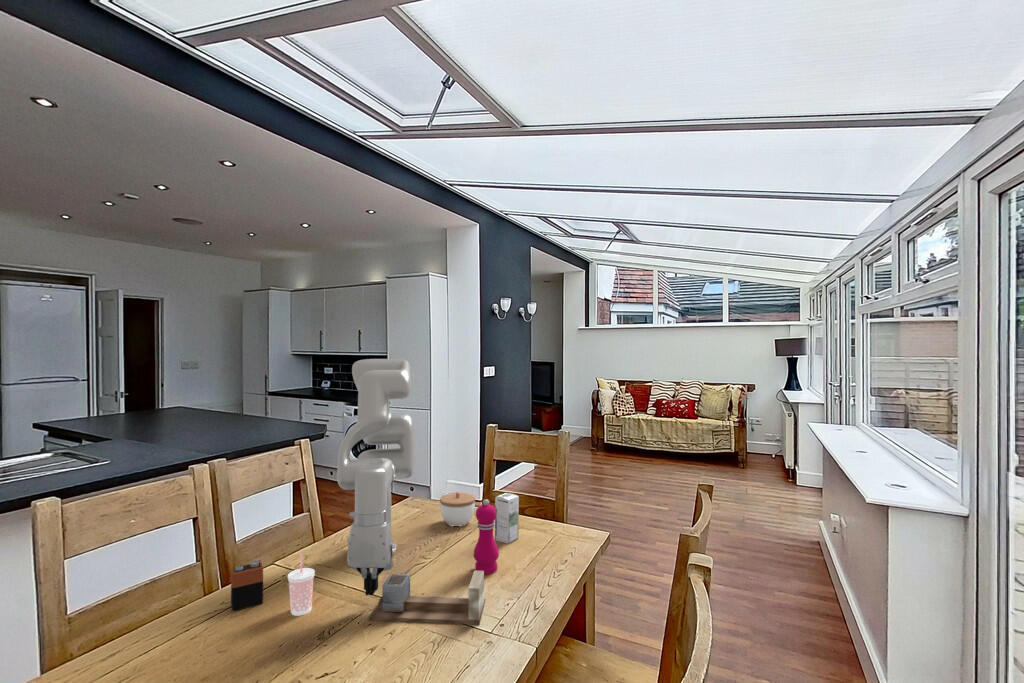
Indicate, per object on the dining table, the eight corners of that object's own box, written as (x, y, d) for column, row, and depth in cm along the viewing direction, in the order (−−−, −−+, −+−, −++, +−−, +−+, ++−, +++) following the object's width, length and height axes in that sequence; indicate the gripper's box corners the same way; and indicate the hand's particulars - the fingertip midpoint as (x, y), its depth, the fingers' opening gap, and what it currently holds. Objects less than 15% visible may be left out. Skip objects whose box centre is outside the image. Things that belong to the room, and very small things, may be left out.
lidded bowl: (435, 528, 174) (435, 497, 174) (446, 516, 187) (446, 486, 187) (470, 530, 172) (470, 498, 172) (478, 518, 185) (478, 488, 185)
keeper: (382, 611, 118) (382, 585, 118) (390, 598, 124) (390, 573, 124) (403, 612, 118) (403, 586, 118) (410, 599, 124) (410, 574, 124)
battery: (263, 604, 124) (263, 563, 124) (232, 612, 120) (232, 570, 120) (261, 596, 127) (261, 557, 128) (230, 604, 124) (230, 563, 124)
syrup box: (504, 535, 168) (504, 492, 168) (519, 539, 165) (519, 495, 165) (494, 540, 163) (494, 496, 164) (509, 544, 160) (508, 499, 160)
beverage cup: (287, 607, 122) (287, 550, 122) (314, 601, 125) (314, 545, 125) (287, 619, 117) (287, 559, 117) (315, 614, 119) (315, 555, 119)
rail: (369, 620, 116) (369, 585, 116) (383, 598, 126) (383, 566, 126) (479, 624, 114) (479, 589, 114) (485, 602, 124) (485, 569, 124)
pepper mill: (495, 576, 138) (495, 504, 138) (470, 573, 140) (470, 502, 140) (501, 565, 145) (501, 496, 145) (477, 562, 147) (477, 494, 147)
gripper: (334, 522, 118) (334, 599, 118) (396, 523, 117) (396, 601, 117) (347, 511, 126) (347, 584, 126) (405, 512, 125) (405, 586, 125)
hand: (371, 592), depth 121 cm, fingers closed
